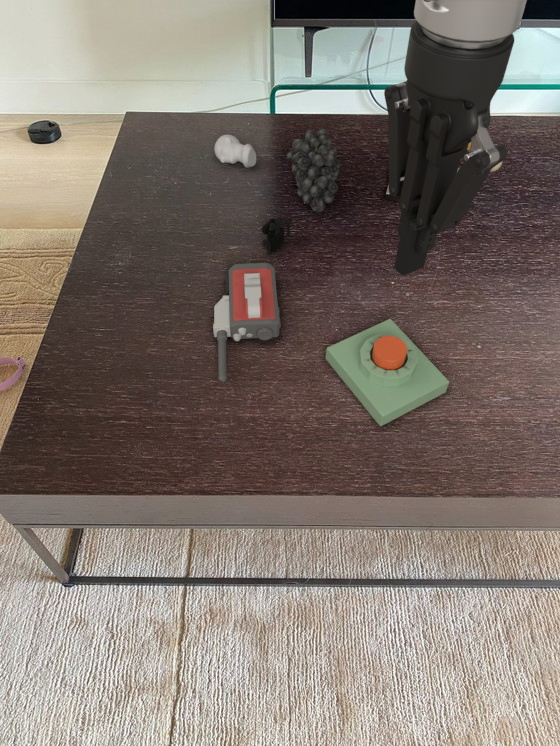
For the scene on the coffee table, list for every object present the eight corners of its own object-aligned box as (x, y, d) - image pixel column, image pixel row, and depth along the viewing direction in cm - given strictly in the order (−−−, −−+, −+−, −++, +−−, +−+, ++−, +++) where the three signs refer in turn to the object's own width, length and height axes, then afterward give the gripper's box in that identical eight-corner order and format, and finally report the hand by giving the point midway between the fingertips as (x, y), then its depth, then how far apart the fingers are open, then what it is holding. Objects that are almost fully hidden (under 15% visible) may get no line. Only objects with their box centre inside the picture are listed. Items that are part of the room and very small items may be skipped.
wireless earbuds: (266, 263, 91) (265, 236, 87) (252, 256, 92) (251, 229, 88) (293, 237, 94) (294, 210, 90) (279, 231, 95) (280, 204, 91)
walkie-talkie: (214, 275, 89) (214, 387, 77) (211, 252, 86) (211, 366, 73) (275, 272, 89) (285, 384, 77) (275, 249, 86) (285, 362, 74)
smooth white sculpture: (211, 162, 108) (231, 143, 109) (242, 181, 104) (263, 161, 105) (203, 144, 104) (224, 124, 105) (235, 163, 100) (256, 142, 101)
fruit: (334, 173, 89) (331, 114, 98) (279, 187, 91) (281, 128, 100) (348, 218, 95) (344, 159, 104) (297, 231, 98) (297, 172, 107)
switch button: (411, 362, 75) (414, 352, 74) (384, 375, 74) (386, 366, 72) (391, 340, 77) (393, 330, 76) (365, 352, 76) (367, 343, 74)
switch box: (445, 392, 77) (453, 372, 74) (380, 426, 74) (384, 408, 70) (387, 329, 83) (392, 308, 80) (325, 358, 80) (327, 338, 77)
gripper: (369, 3, 47) (343, 243, 66) (485, 78, 40) (419, 321, 59) (446, -17, 49) (399, 220, 68) (568, 50, 43) (479, 293, 61)
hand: (408, 267), depth 64 cm, fingers closed
